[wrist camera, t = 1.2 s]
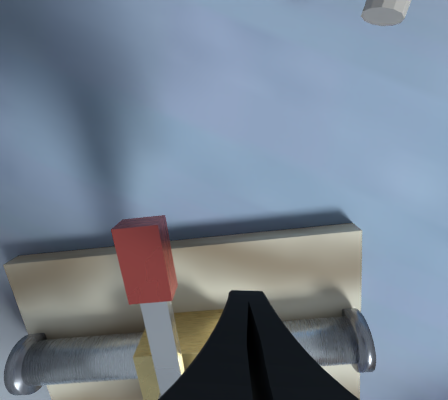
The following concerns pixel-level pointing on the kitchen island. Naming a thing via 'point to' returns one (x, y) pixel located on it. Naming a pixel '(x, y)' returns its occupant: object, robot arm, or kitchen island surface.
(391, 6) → the pipe connector
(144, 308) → the valve lever
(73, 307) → the valve board
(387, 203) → the kitchen island surface
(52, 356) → the valve pipe
